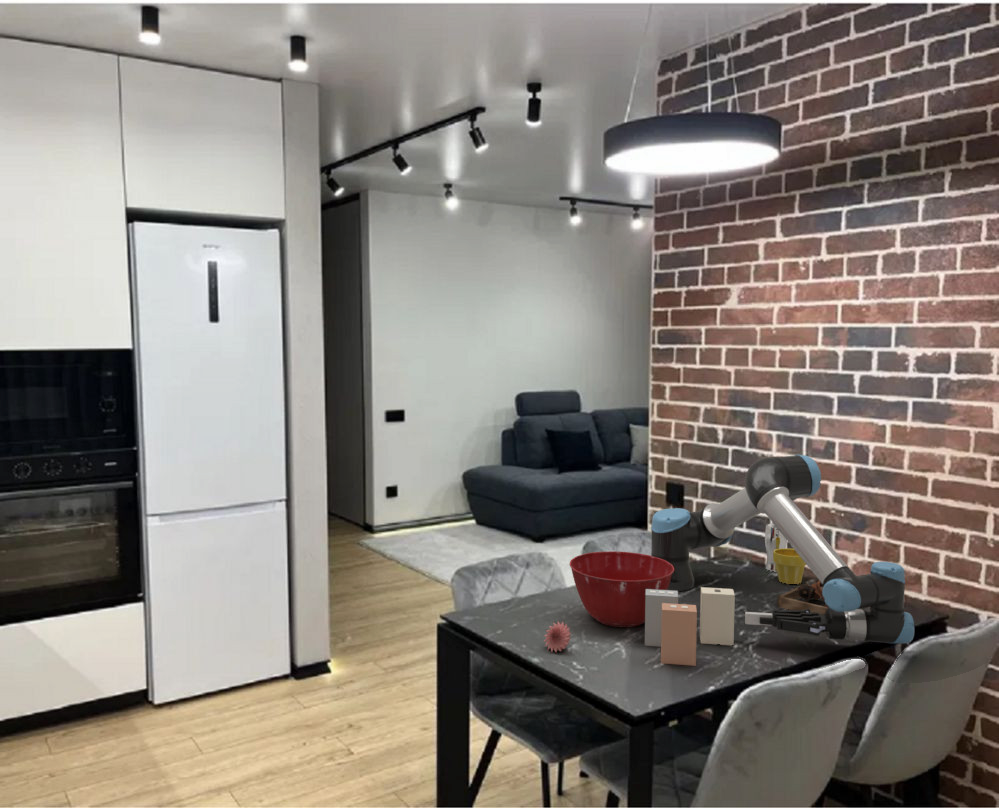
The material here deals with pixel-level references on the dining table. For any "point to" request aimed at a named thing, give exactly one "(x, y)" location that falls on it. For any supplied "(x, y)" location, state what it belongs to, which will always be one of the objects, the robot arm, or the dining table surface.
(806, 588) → the pottery mug
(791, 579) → the plant pot
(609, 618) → the mixing bowl
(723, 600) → the cream block
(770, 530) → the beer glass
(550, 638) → the flower
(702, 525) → the robot arm
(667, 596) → the grey block
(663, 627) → the terracotta block
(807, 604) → the walnut frame
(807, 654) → the dining table surface
